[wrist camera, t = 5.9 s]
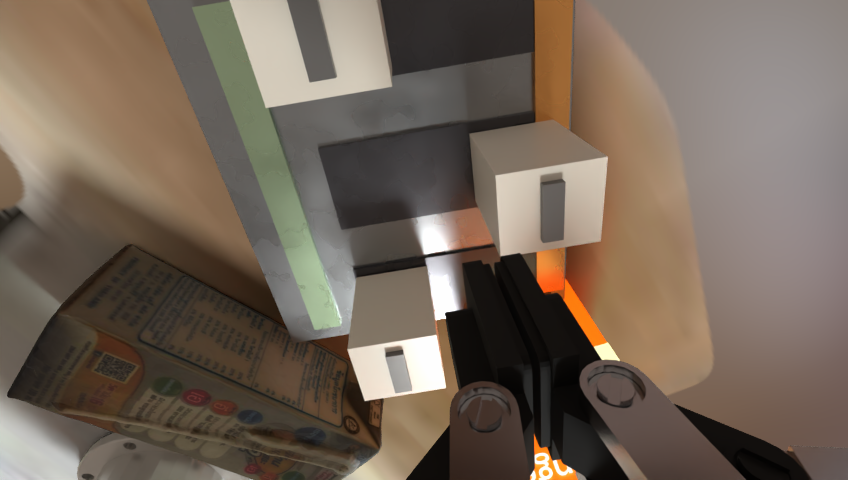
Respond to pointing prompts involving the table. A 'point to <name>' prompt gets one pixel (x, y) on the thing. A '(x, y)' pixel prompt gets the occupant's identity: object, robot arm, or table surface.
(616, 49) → the table surface
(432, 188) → the panel
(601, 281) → the table surface
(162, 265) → the beverage carton
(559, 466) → the orange juice
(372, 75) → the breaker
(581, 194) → the breaker mid
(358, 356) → the breaker
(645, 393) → the robot arm
